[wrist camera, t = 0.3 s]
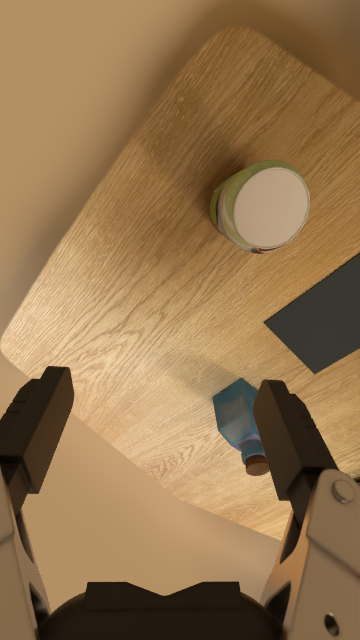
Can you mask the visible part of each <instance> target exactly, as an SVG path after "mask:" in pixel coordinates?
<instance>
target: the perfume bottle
mask: <svg viewBox="0 0 360 640" xmlns="http://www.w3.org/2000/svg"><path fill="white" fill-rule="evenodd" d="M257 393H258V390H256V389H255V388H254V387H252V386H251V385H250V384H249V383H247V382H246V381H245V380H243V379H242V378H241V379H239V380H238V381H236V382H235V383H233V384H232V385H230V386H229V387H227V388H226V389H224V390H223V391H221V392H220V393H218V394H217V395H215V396H214V397H213V403H214V409H215V415H216V421H217V427H218V431H219V432H220V433H221V434H222V436H223V437H224V438H225V439H226V440H227V441H228V442H229V444H230V445H231V446H232V447H234V448H236V449H237V450H239V451H241V452H242V454H241V456H242V461H243V464H244V465H246V472H247V474H249V475H252V476H260V475H264V474H266V473H268V472H269V471H270V469H269V466H268V462H267V459H266V456H265V452H264V449H263V446H262V443H261V439H260V436H259V433H258V429H257V426H256V423H255V419H254V415H253V404H254V401H255V398H256V396H257Z"/></svg>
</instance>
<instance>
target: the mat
mask: <svg viewBox="0 0 360 640" xmlns="http://www.w3.org/2000/svg"><path fill="white" fill-rule="evenodd" d="M264 324H265V325H266V326H267V327H268V328H269V329H270V330H271V331H272V332H273V333H274V334H275V335H276V336H277V337H278V338H279V339H280V340H281V341H282V342H283V343H284V344H285V345H286V346H287V347H288V348H289V349H290V350H291V351H292V352H293V353H294V354H295V355H296V356H297V357H298V358H299V359H300V360H301V361H302V362H303V363H304V364H305V365H306V366H307V367H308V368H309V369H310V370H311V371H312V372H313V373H314V374H316V373H318V372H320V371H321V370H323V369H325V368H326V367H328V366H330V365H332V364H333V363H335V362H337V361H338V360H340V359H342V358H344V357H345V356H347V355H349V354H350V353H352V352H354V351H356V350H357V349H359V348H360V253H359V254H358V255H357V256H355V257H354V258H352V259H351V260H350V261H348V262H347V263H345V264H344V265H343V266H341V267H340V268H339V269H337V270H336V271H334V272H333V273H332V274H330V275H329V276H327V277H326V278H325V279H323V280H322V281H320V282H319V283H318V284H316V285H315V286H314V287H312V288H311V289H309V290H308V291H307V292H305V293H304V294H302V295H301V296H300V297H298V298H297V299H296V300H294V301H293V302H291V303H290V304H289V305H287V306H286V307H284V308H283V309H282V310H280V311H279V312H278V313H276V314H275V315H273V316H272V317H271V318H269V319H268V320H266V321H265V322H264Z"/></svg>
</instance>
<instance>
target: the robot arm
mask: <svg viewBox="0 0 360 640" xmlns="http://www.w3.org/2000/svg"><path fill="white" fill-rule="evenodd" d="M73 401H74V389H73V384H72V378H71V372H70V368H69V367H57V366H48V367H47V368H46V369H45V371H44V373H43V375H42V376H41V378H40V379H31V380H30V381H29V382H28V383H26V384H25V385H24V386H23V387H22V388H20V390H19V391H18V393H17V394H16V396H15V398H14V399H13V402H12V403H11V404H10V406H9V407H8V409H7V410H6V413H5V414H4V415H3V416H2V418H1V420H0V640H360V486H359V485H358V484H357V483H356V482H355V481H354V480H353V479H352V478H351V477H350V476H348V475H347V474H345V473H343V472H341V471H340V470H339V469H338V467H337V465H336V463H335V461H334V459H333V458H332V456H331V454H330V452H329V450H328V448H327V446H326V444H325V442H324V440H323V438H322V436H321V434H320V432H319V430H318V429H317V428H316V425H315V423H314V421H313V419H312V418H311V415H310V413H309V411H308V409H307V407H306V405H305V404H304V403H303V402H302V401H301V400H300V399H299V398H298V397H297V396H296V394H290V393H289V391H288V389H287V387H286V385H285V383H284V382H283V381H282V380H263V381H262V383H261V386H260V388H259V391H258V393H257V396H256V398H255V401H254V404H253V415H254V419H255V423H256V426H257V429H258V433H259V436H260V439H261V443H262V446H263V449H264V452H265V456H266V459H267V462H268V466H269V469H270V472H271V476H272V479H273V482H274V486H275V489H276V492H277V496H278V499H279V501H290V502H291V505H292V508H293V510H292V511H291V513H290V517H289V520H288V523H287V526H286V530H285V533H284V536H283V540H282V543H281V546H280V549H279V553H278V556H277V559H276V563H275V565H274V568H273V570H272V572H271V574H270V576H269V578H268V580H267V583H266V585H265V588H264V590H263V593H262V597H261V599H260V603H258V602H257V601H256V600H254V599H253V598H251V597H250V596H247V595H246V594H244V593H242V592H240V586H239V582H201V583H199V584H196V585H194V586H191V587H188V588H186V589H183V590H181V591H178V592H176V593H173V594H171V595H167V596H162V595H159V594H156V593H153V592H151V591H148V590H146V589H143V588H141V587H138V586H135V585H133V584H130V583H128V582H88V583H87V588H86V592H84V593H82V594H79V595H77V596H75V597H73V598H72V599H70V600H68V601H67V602H65V603H64V604H62V605H61V606H60V607H59V608H57V609H56V610H55V611H54V612H53V613H51V609H50V606H49V602H48V598H47V594H46V591H45V587H44V584H43V581H42V578H41V576H40V573H39V571H38V567H37V564H36V561H35V557H34V553H33V549H32V545H31V542H30V538H29V534H28V531H27V526H26V523H25V519H24V515H23V511H22V505H23V503H24V500H25V498H26V496H27V494H39V491H40V489H41V486H42V483H43V481H44V478H45V476H46V473H47V471H48V468H49V466H50V463H51V460H52V457H53V455H54V453H55V450H56V448H57V444H58V442H59V440H60V437H61V434H62V432H63V430H64V427H65V424H66V422H67V419H68V417H69V414H70V412H71V409H72V406H73Z"/></svg>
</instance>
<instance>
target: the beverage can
mask: <svg viewBox="0 0 360 640" xmlns="http://www.w3.org/2000/svg"><path fill="white" fill-rule="evenodd" d="M309 208H310V197H309V190H308V187H307V184H306V182H305V180H304V178H303V176H302V175H301V174H300V173H299V171H298V170H296V169H295V168H294V167H293V166H291V165H289V164H287V163H285V162H282V161H278V160H266V161H260V162H257V163H254V164H252V165H250V166H248V167H247V168H245V169H243V170H241V171H239V172H238V173H236V174H234V175H232V176H231V177H229V178H227V179H225V180H224V181H223V182H222V183H220V185H219V186H218V187H217V188H216V190H215V191H214V193H213V195H212V198H211V202H210V217H211V221H212V223H213V225H214V226H215V228H216V229H217V230H218V231H219V232H220V233H221V234H222V235H224V236H225V237H226V238H227V239H229V240H230V241H231V242H232V243H234V244H235V245H236V246H238V247H239V248H241V249H243V250H245V251H247V252H251V253H259V254H263V253H270V252H273V251H276V250H278V249H280V248H282V247H284V246H285V245H287V244H288V243H290V242H291V241H292V240H293V239H294V238H295V237H296V236H297V234H298V233H299V232H300V230H301V229H302V227H303V226H304V224H305V222H306V219H307V217H308V213H309Z"/></svg>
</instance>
